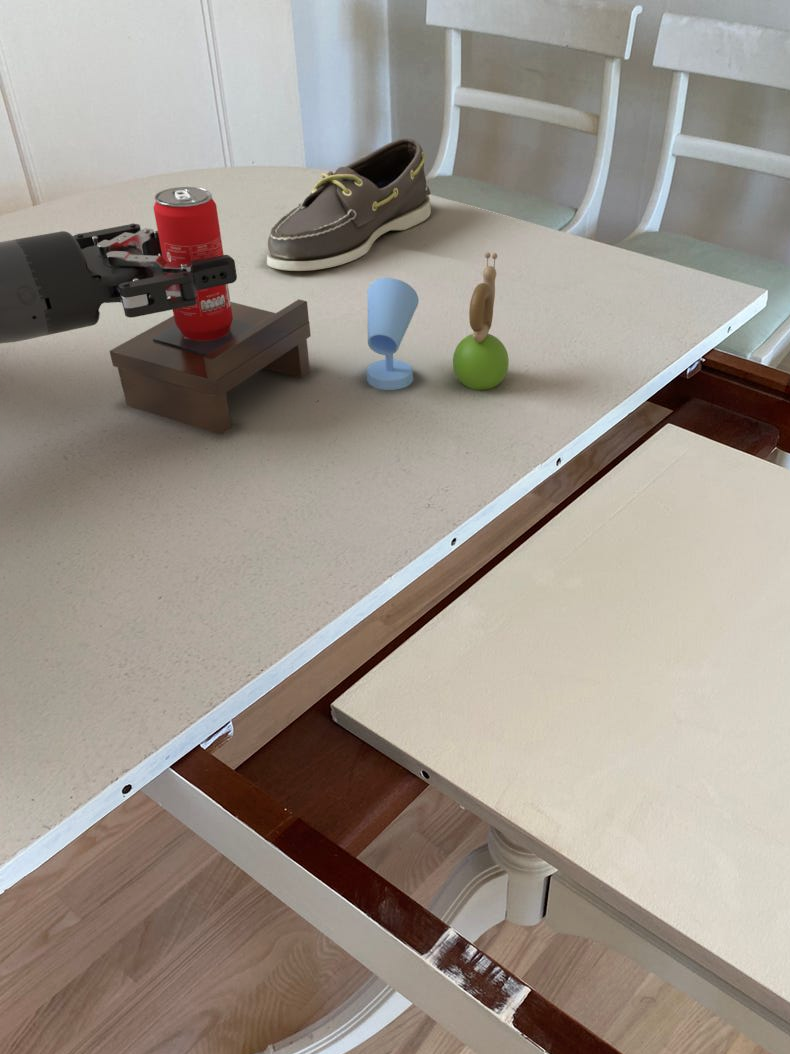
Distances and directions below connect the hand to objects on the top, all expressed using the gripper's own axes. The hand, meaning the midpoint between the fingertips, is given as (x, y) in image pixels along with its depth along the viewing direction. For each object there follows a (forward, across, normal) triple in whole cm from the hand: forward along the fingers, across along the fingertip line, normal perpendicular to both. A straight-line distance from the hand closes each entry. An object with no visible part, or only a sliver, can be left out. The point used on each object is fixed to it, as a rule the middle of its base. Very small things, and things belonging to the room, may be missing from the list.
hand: (215, 252), depth 86 cm
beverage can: (-2, 0, -7) cm, 7 cm away
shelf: (-2, 0, -13) cm, 13 cm away
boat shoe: (+28, -30, -13) cm, 43 cm away
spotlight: (+13, +7, -13) cm, 20 cm away
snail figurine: (+21, +12, -13) cm, 27 cm away
